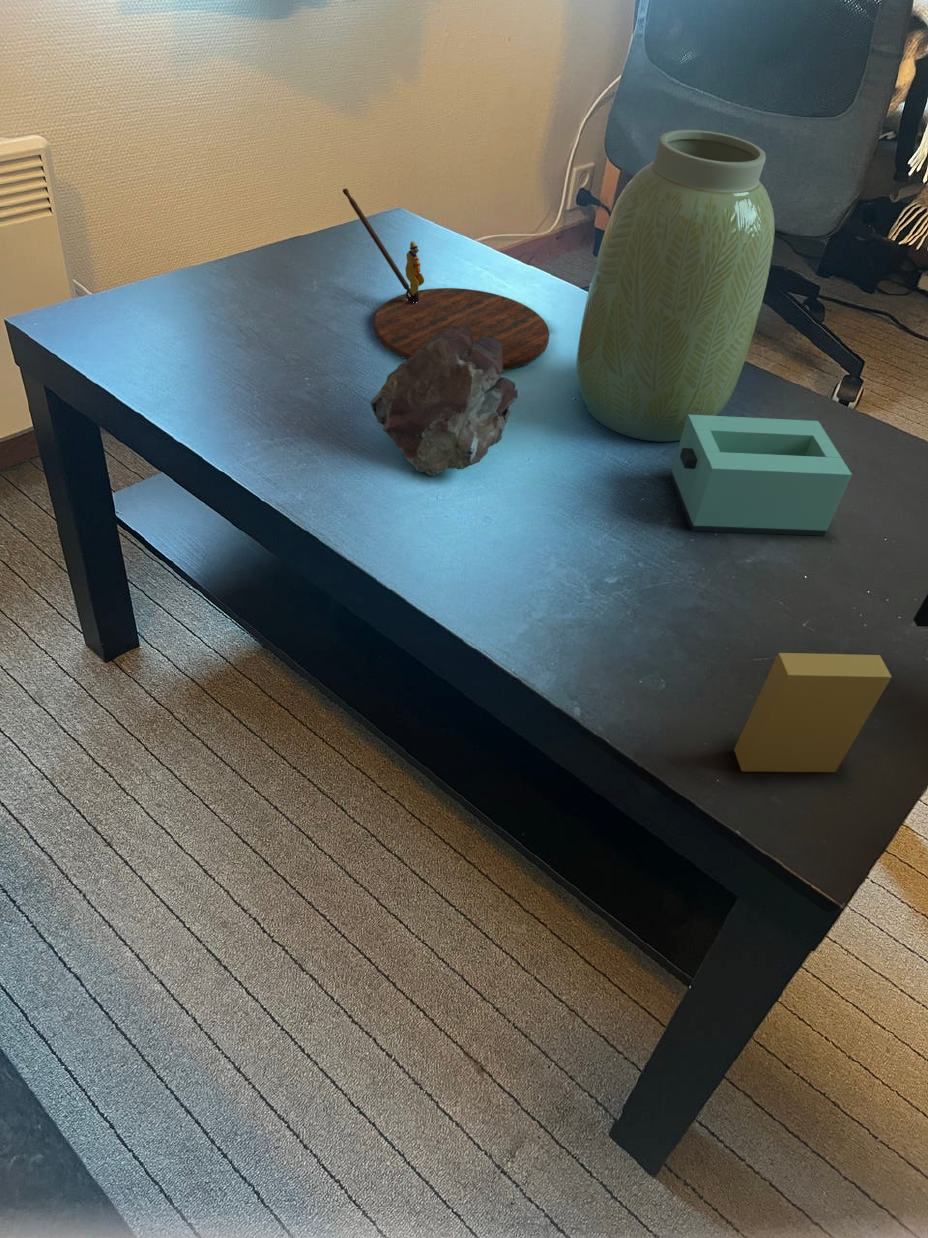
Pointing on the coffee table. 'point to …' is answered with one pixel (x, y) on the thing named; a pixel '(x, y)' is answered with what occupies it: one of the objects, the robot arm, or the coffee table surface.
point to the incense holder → (453, 314)
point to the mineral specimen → (447, 401)
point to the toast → (810, 711)
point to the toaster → (758, 475)
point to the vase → (677, 287)
